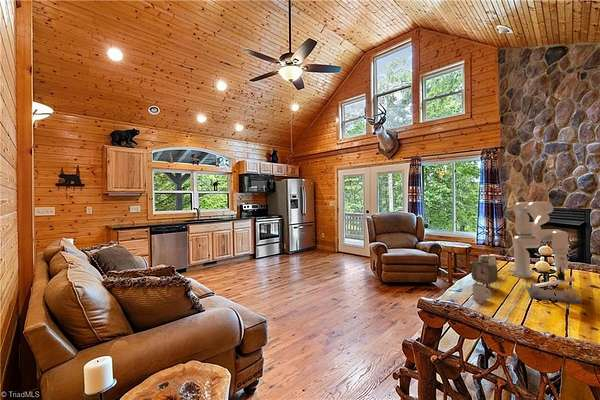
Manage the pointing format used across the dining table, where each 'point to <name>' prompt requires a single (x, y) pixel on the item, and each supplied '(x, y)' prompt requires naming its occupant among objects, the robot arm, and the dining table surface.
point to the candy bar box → (489, 258)
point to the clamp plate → (562, 296)
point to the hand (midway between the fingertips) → (561, 279)
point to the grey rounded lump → (480, 292)
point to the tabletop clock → (484, 271)
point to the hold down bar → (554, 282)
